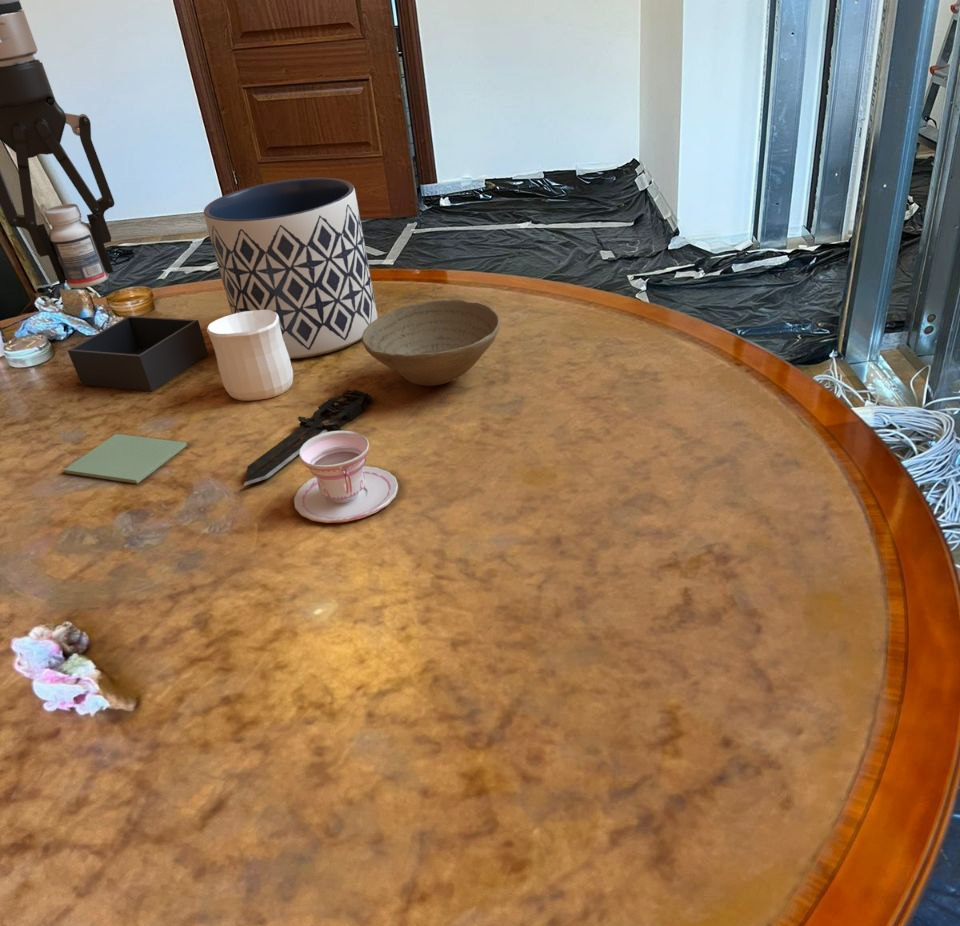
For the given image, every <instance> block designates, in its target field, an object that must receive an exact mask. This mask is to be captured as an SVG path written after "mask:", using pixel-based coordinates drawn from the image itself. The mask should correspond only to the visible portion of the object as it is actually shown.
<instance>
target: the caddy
mask: <svg viewBox="0 0 960 926" xmlns="http://www.w3.org/2000/svg"><path fill="white" fill-rule="evenodd" d="M67 353H68V355H69V358H70V360H71V363H72V365H73V368H74V370H75V373H76V375H77V377H78V380H79V383H80V385H84V386H92V387H103V388H113V389H114V388H115V389H122V390H123V389H124V390H125V389H126V390H133V391H134V390H135V391H145V392H153V391H155V390H156V389H157V388H160V387H161V386H163V385H164V384H166V383H167V382H168V381H170V380H172V379H173V378H174V377H176V376H177V375H179V374H180V373H182V372H183V371H185V370H187V369H188V368H190V366H192V365H194V364H195V363H197V362H198V361H199V360H201V359H203V358H204V357H206V356H208V355H209V351H208V348H207V345H206V341H205V338H204V334H203V331H202V328H201V325H200V322H199V319H189V318H187V319H185V318H171V317H169V318H168V317H155V316H153V317H151V316H135V315H128V316H125V317H124V318H122V319H120V320H119V321H117V322H115V323H114V324H112V325H110V326H107V328H104V329H103V330H101V331H99V332H97V333H95V334H94V335H92V336H90V337H89V338H87V339H85V340H83V341H81V342H80V343H77V344H76V345H74V346H73V347H70V348H69V349H67Z"/></svg>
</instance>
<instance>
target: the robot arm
mask: <svg viewBox="0 0 960 926" xmlns="http://www.w3.org/2000/svg"><path fill="white" fill-rule="evenodd" d="M37 47H38V46H37V44H36V41H35V39H34V36H33V32H32V31H31V28H30V25H29V22H28V19H27V16H26V14H25V10H23V7H22V4H21V0H0V141H1V142H2V143H3V144H4V145H5V146H7V147H8V148H9V149H10V150H12V151H13V152H14V153H15V157H16V164H17V172H18V179H19V180H18V181H19V186H20V194H21V202H22V209H23V214H20V213H19V214H18V212H17V210H16V207H15V204H14V201H13V199H12V197H11V196H12V195H11V194H10V191H9V188H8V186H7V183H6V181H5V178H4V175H3V173H2V170H1V169H0V206H1V209H2V211H3V214H4V217H5V219H6V222H7V224H8V225H9V227H11V228H22V229H25V230H26V231H27V232H28V234H29V236H30V239H31V241H32V243H33V246H34V248H35V252H36V253H37V255H38V256H39V257H40V258H41V257H42V258H43V257H47V256H48V259H49V260H50V264H51V266H52V267H53V268H52V269H53V271H54V273H55V275H56V278H57V281H58V283H59V285H62V284H67V282H66V280H65V277H64V275H63V272H62V270H61V267H60V265H59V262H58V260H57V257H56V255H55V252H54V250H53V247H52V245H51V242H50V239H49V232H48V230H47V228H46V225H45V223H41V224H38V221H37V216H36V209H35V208H36V207H35V202H34V193H33V186H32V177H31V169H30V163H29V159H32V158H35V157H37V156H39V155H46V156H47V155H53V156H54V157H55V159H56V161H57V163H58V165H60V166H61V167H60V168H62V170H63V172H64V173H65V174H66V176H67V177H68V180H70V182H71V183H72V185H73V186H74V188H75V190H76V191H77V193H78V194H79V196H80V197H81V199H82V200H83V202H84V203H85V205H86V206H87V208H88V210H89V211H90V212H91V213H90V214H86V218H87V221H88V225H89V226H90V227H91V229H92V232H93V234H94V237H95V240H96V243H97V245H98V248H99V251H100V254H101V256H102V259H103V262H104V265H105V267H106V270H107V273H108V274H111V273H114V269H113V266H112V263H111V260H110V258H109V255H108V252H107V248H106V246H105V244H107V243H112V236H111V233H110V230H109V226H108V224H107V221H106V219H105V212H106V211H108V210H109V209H110V208H111V209H112V208H113V207H114V206H115V199H114V197H113V195H112V192H111V189H110V186H109V184H108V181H107V178H106V175H105V173H104V171H103V170H104V169H103V167H102V164H101V162H100V159H99V156H98V154H97V150H96V148H95V146H94V142H93V141H92V140H93V139H92V125H91V123H92V122H91V120H90V118H89V116H88V115H87V114H85V113H81V114H79V115H78V114H73V113H67V112H65V111H64V109H63V108H62V107H61V106H60V104H58V103H57V100H56V97H55V95H54V92H53V89H52V86H51V84H50V81H49V78H48V74H47V73H46V69H45V67H44V65H43V62H41V61H40V59H37V58H36V57H35V56H34V55H36V54H37V53H38V48H37ZM66 125H69V126H70V127H71V130H72V133H73V134H74V135H75V136H77V137H79V140H80V143H81V145H82V148H83V151H84V153H85V156H86V158H87V161H88V164H89V166H90V170H91V172H92V175H93V178H94V180H95V182H96V185H97V188H98V190H99V193H100V196H101V197H99V198H98V199H97V198H96V197H95V195H94V194H93V192H92V191H91V189H90V188H89V186H88V185H87V183H86V182H85V180H84V179H83V177H82V176H81V174H80V173H79V171H78V169H77V168H76V166H75V164H74V163H73V161H72V160H71V159H70V157H69V155H68V154H67V152H66V150H65V149H64V148H63V146H62V144H61V142H62V138H63V134H64V131H65V126H66Z"/></svg>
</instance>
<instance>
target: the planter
mask: <svg viewBox="0 0 960 926" xmlns="http://www.w3.org/2000/svg"><path fill="white" fill-rule="evenodd" d="M360 215H361V214H360V211H359V205H358V199H357V194H356V189H355V187H354V184H353V183H352V182H350V181H347V180H345V179H340V178H333V177H332V178H331V177H307V178H306V177H305V178H293V179H286V180H278V181H273V182H268V183H263V184H258V185H253V186H249V187H246V188H243V189H238V190H236V191H233V192H229V193H227V194H225V195H222V196H219V197H218V198H216V199H214V200H212V201H211V202H209V203H208V204H206V206H205V207H204V209H203V217H204V221H205V224H206V225H205V226H206V228H207V231H208V236H209V239H210V243H211V246H212V250H213V253H214V257H215V260H216V264H217V267H218V272H219V274H220V278H221V282H222V285H223V289H224V292H225V296H226V299H227V302H228V306H229V310H230V313H231V315H232V314H235V313H240V312H245V311H254V310H271V311H274V312H276V313H277V314H278V316H279V325H280V329H281V333H282V337H283V340H284V343H285V346H286V349H287V352H288V355H289V358H290V360H293V359H294V360H295V359H303V358H304V359H305V358H312V357H317V356H321V355H326V354H329V353H334V352H337V351H339V350H342V349H344V348H347V347H349V346H352V345H354V344H355V343H358V342H359V341H362V336H363V332H364V330H365V329H366V328H367V327H368V326H369V324H371V323H372V322H373V321H375V320H376V319H378V318H379V315H378V310H377V305H376V300H375V293H374V287H373V282H372V275H371V269H370V264H369V260H368V254H367V248H366V243H365V238H364V232H363V227H362V221H361V216H360Z"/></svg>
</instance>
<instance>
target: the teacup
mask: <svg viewBox="0 0 960 926" xmlns="http://www.w3.org/2000/svg"><path fill="white" fill-rule="evenodd" d="M369 451H370V443H369V440H368V438H366V437H365V436H364V435H362V434H361V433H359V432H357V431H353V430H352V431H351V430H341V431H331V432H326V433H322V434H319V435H317V436H315V437H313V438H311V439H309V440H308V441H306V442H305V443H304V444H303V446H302V447H301V449H300V451H299V454H298V455H299V460H300V463H301V464H302V465H303V466H304V467H305V468H307V469H309V471H310V473H311V474H312V475H313V476H314V477H313V478H311V479H309V480H307V481H305V483H304V484H302V485H301V487H299V488H298V489H297V492H296V493H295V495H294V496H293V497H294V498H293V502H294V509H295V510H296V511H297V512H298V514H299V515H300V516H302V517H303V518H306V519H308V520H310V521H313V522H317V523H318V522H320V523H327V524H328V523H329V524H332V523H346V522H347V523H348V522H350V521H351V522H352V521H355V520H356V521H357V520H360V519H363V518H366V517H369V516H371V515H373V514H377V512H379V511H381V510H383V509H384V508H385V507H388V506H389V505H390V503H391V502H392V501H394V499H395V498H396V496H397V493H398V490H399V484H398V480H397V478H396V476H394V475H393V474H391V472H390V471H388V470H385V469H382V468H380V467H376V466H367V465H366V462H367V458H366V457H367V455H368V454H369Z"/></svg>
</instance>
